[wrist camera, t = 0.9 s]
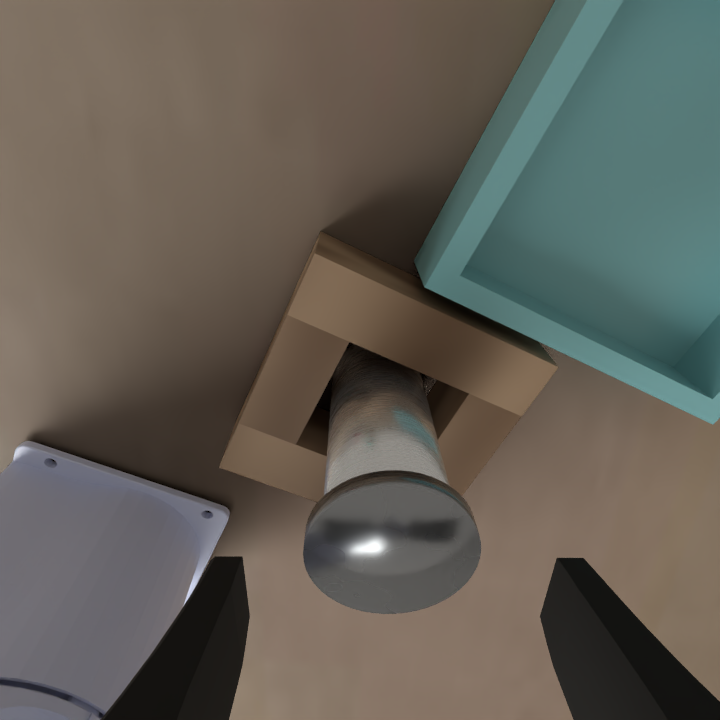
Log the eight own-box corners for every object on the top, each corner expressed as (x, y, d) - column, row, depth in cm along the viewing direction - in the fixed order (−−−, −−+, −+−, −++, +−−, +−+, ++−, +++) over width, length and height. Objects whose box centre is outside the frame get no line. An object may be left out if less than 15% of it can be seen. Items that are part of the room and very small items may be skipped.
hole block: (235, 421, 21) (218, 467, 18) (320, 231, 17) (314, 253, 15) (419, 490, 23) (427, 541, 20) (530, 331, 19) (558, 367, 17)
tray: (413, 260, 18) (424, 287, 15) (630, -138, 13) (701, -201, 10) (666, 383, 20) (712, 424, 18) (925, 87, 16) (1044, 83, 13)
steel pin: (306, 399, 21) (276, 585, 13) (351, 311, 19) (350, 461, 11) (398, 436, 22) (425, 631, 14) (449, 356, 20) (515, 524, 12)
